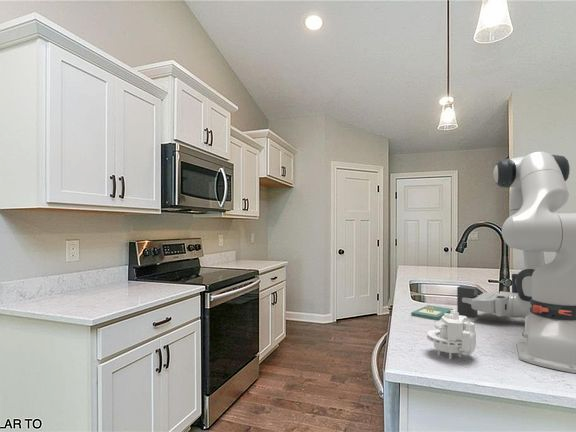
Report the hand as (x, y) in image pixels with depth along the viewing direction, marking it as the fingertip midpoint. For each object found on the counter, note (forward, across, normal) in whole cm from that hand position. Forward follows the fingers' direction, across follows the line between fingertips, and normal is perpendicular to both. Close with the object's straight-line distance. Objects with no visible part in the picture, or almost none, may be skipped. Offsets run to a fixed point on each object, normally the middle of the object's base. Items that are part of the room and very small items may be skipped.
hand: (464, 298), depth 138 cm
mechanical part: (-10, +50, +7) cm, 51 cm away
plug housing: (-1, 0, +6) cm, 7 cm away
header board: (+10, +7, +6) cm, 14 cm away
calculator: (-17, -28, +7) cm, 33 cm away
